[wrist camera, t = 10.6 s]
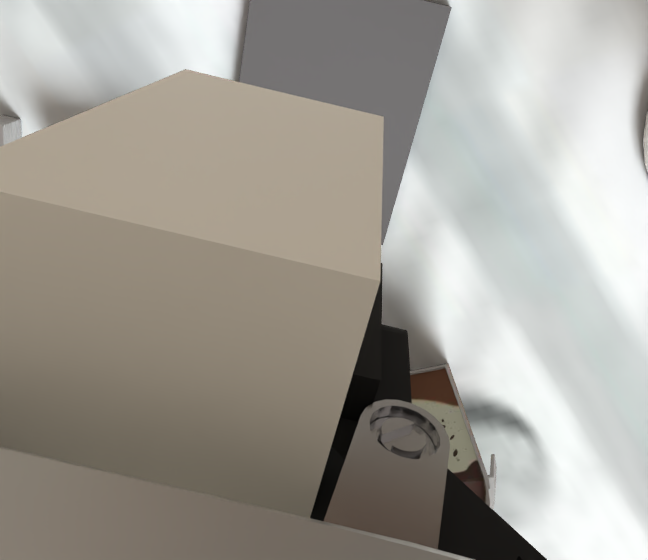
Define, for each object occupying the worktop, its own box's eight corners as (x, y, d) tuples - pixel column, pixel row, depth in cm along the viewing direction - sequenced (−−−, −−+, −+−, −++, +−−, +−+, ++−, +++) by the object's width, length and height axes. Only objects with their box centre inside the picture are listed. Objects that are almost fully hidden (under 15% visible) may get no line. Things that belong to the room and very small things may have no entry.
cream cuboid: (383, 116, 11) (380, 281, 5) (305, 417, 15) (248, 725, 9) (185, 69, 11) (-69, 176, 5) (157, 383, 15) (-6, 667, 9)
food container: (314, 462, 40) (293, 599, 31) (284, 395, 37) (253, 523, 28) (490, 433, 37) (523, 573, 28) (472, 358, 34) (502, 487, 26)
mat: (450, 6, 26) (451, 7, 25) (382, 240, 31) (382, 244, 31) (258, -40, 26) (255, -41, 25) (225, 203, 31) (222, 206, 31)
